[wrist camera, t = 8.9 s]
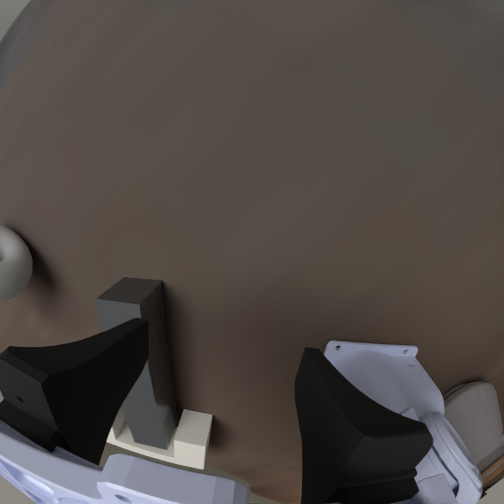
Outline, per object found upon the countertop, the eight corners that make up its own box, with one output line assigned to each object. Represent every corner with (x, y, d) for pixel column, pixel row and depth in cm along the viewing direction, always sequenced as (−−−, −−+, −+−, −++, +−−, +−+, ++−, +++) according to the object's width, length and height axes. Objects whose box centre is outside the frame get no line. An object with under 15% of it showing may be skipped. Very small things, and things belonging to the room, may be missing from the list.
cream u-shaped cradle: (212, 414, 25) (205, 446, 21) (209, 439, 27) (203, 469, 22) (102, 385, 25) (84, 410, 21) (108, 412, 27) (93, 436, 22)
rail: (163, 279, 22) (139, 304, 17) (178, 416, 26) (167, 449, 21) (125, 276, 22) (96, 298, 17) (148, 411, 26) (134, 442, 21)
